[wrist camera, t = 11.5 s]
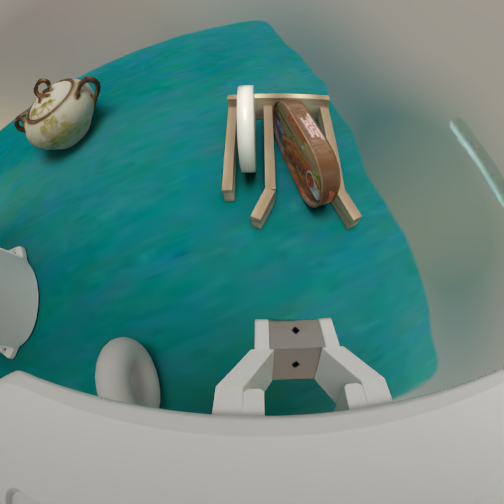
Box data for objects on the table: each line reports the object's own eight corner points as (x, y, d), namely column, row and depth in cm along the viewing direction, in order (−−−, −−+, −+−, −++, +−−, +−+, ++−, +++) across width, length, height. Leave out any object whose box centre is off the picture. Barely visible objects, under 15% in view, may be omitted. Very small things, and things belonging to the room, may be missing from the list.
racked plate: (243, 189, 35) (234, 131, 24) (245, 127, 38) (239, 68, 28) (256, 189, 35) (251, 130, 24) (256, 126, 38) (252, 68, 28)
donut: (130, 339, 30) (81, 335, 20) (155, 336, 30) (111, 332, 20) (145, 419, 27) (102, 442, 17) (171, 418, 27) (134, 445, 17)
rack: (223, 230, 33) (217, 214, 29) (231, 115, 39) (227, 95, 35) (355, 229, 32) (366, 214, 28) (334, 116, 38) (339, 96, 34)
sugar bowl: (120, 91, 44) (92, 37, 30) (113, 140, 40) (73, 78, 25) (46, 127, 44) (12, 86, 30) (32, 179, 39) (-14, 137, 25)
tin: (270, 131, 38) (270, 88, 30) (290, 127, 38) (293, 84, 30) (310, 220, 33) (322, 183, 25) (334, 213, 33) (351, 176, 25)
